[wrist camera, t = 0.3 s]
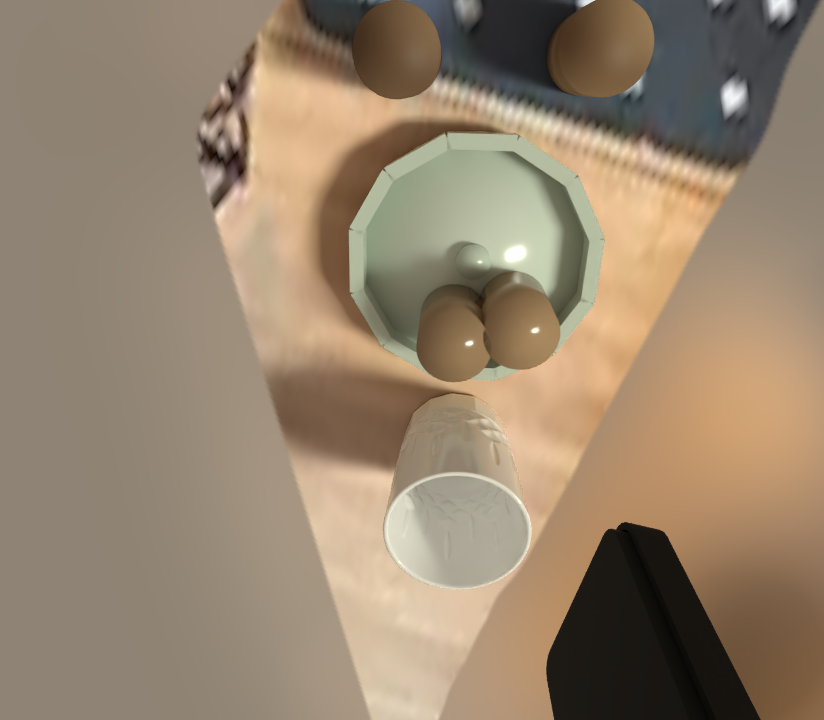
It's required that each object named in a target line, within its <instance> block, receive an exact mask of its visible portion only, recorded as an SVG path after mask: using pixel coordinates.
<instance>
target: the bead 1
mask: <svg viewBox="0 0 824 720" xmlns="http://www.w3.org/2000/svg"><path fill="white" fill-rule="evenodd" d="M352 53H353V60H354V65H355V68H356V70H357V73H358V75H359V76H360V78H361V80H362V81H363V82H364V84H365V85H366V86H367V87H368V88H369V89H370V90H372V91H373V92H375V93H376V94H378V95H380V96H383V97H385V98H389V99H404V98H408V97H413V96H416V95H418V94H420V93H422V92H423V91H425V90H426V89H427V88H428V87H430V85H431V84H432V83H433V82H434V80H435V79H436V77H437V75H438V72H439V70H440V66H441V60H442V51H441V45H440V40H439V36H438V33H437V30H436V28H435V26H434V24H433V22H432V20H431V19H430V18H429V16H428V15H427V14H426V13H425V12H424V11H423V10H422V9H420V8H419V7H417V6H416V5H414V4H412V3H409V2H406V1H400V0H391V1H386V2H383V3H380V4H378V5H376V6H375V7H373V8H372V9H370V10H369V11H368V12H367V13H366V14H365V15H364V17H363V18H362V19H361V21H360V22H359V24H358V26H357V28H356V31H355V34H354V38H353V45H352Z"/></svg>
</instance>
